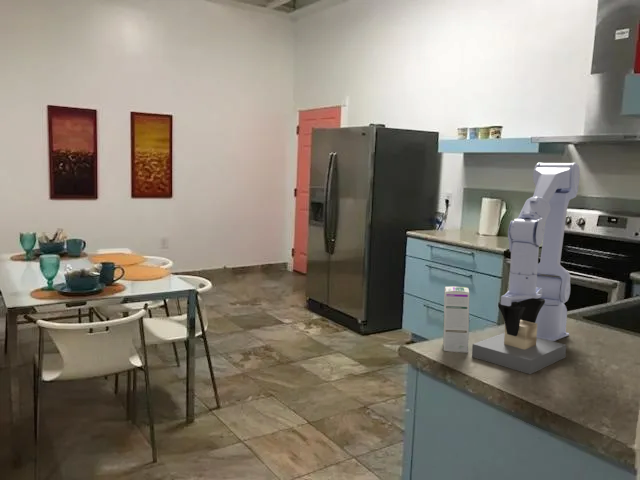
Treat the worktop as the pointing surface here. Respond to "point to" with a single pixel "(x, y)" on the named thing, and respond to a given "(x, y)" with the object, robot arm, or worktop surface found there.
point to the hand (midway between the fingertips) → (520, 331)
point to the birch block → (523, 336)
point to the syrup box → (456, 319)
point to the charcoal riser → (519, 354)
